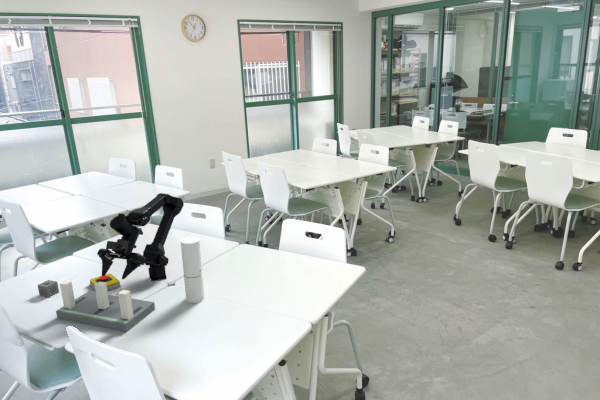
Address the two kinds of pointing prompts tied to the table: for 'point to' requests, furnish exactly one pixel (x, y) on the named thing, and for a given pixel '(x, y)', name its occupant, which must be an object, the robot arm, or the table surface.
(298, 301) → the table surface
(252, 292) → the table surface
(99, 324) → the slotted peg board
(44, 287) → the dice cube
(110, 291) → the emergency button
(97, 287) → the handle
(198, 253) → the cylindrical container
